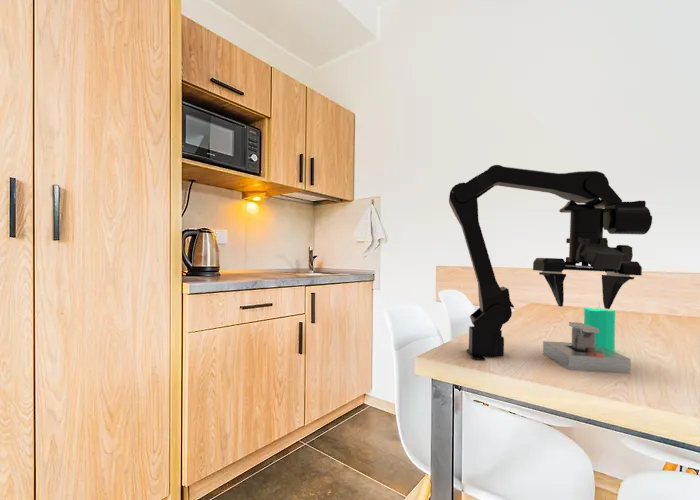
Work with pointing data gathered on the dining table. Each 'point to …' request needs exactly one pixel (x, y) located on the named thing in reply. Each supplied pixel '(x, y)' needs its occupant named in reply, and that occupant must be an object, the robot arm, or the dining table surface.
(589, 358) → the flat box
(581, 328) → the column
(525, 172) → the robot arm
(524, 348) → the dining table surface
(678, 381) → the dining table surface
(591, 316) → the candle
